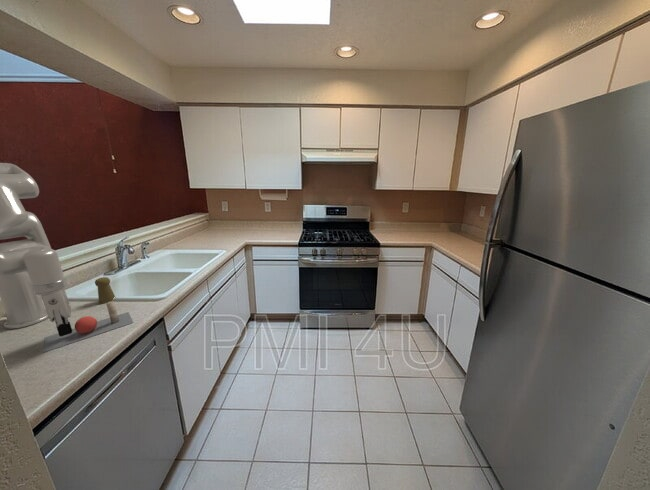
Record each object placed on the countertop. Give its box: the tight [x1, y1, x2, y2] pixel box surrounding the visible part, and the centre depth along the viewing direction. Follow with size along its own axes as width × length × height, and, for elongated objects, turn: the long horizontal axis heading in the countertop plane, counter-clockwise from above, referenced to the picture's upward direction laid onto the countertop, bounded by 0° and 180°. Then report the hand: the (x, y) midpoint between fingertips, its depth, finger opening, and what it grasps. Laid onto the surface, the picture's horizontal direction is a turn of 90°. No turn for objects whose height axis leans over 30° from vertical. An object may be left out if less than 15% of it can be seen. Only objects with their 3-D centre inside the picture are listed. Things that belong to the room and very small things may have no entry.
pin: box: [105, 300, 119, 324], centre depth 98 cm, size 2×2×8 cm
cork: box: [94, 276, 116, 305], centre depth 115 cm, size 6×6×11 cm
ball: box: [74, 316, 97, 334], centre depth 93 cm, size 6×6×6 cm
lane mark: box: [43, 311, 134, 353], centre depth 95 cm, size 24×11×1 cm, turn 135°
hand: (66, 333), depth 90 cm, fingers closed
